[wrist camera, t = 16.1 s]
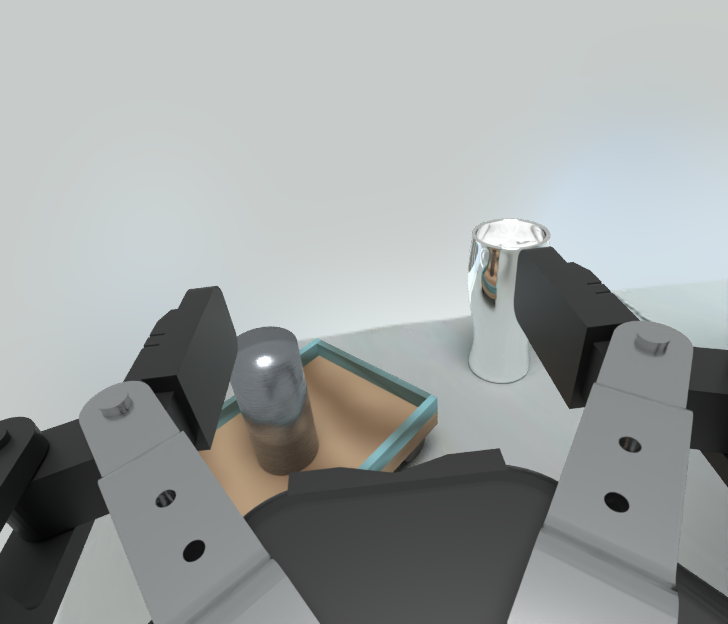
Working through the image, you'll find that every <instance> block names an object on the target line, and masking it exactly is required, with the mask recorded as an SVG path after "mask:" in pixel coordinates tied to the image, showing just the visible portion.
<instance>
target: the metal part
mask: <svg viewBox="0 0 728 624" xmlns="http://www.w3.org/2000/svg"><path fill="white" fill-rule="evenodd" d="M237 344H238V351H237V357H236V360H235V364H234V367H233V371H232V375H231V378H230V382H231V385H232V388H233V391H234V394H235V396H236V399H237V402H238V405H239V408H240V411H241V414H242V417H243V420H244V423H245V425H246V428H247V431H248V434H249V437H250V440H251V443H252V446H253V449H254V452H255V454H256V457H257V460H258V463H259V465H260V466H261V468H262V469H263V470H264V471H266V472H268V473H270V474H272V475H277V476H286V475H289V473H292V472H299V471H302V470H303V469H305V468H306V467H307V466H309V465H310V464H311V463H312V461H313V460H314V459H315V457H316V455H317V453H318V450H319V441H318V436H317V432H316V427H315V422H314V418H313V413H312V408H311V404H310V399H309V394H308V390H307V385H306V380H305V376H304V371H303V366H302V362H301V357H300V352H299V348H298V343H297V339H296V337H295V336H294V334H293V333H292V332H290V331H288V330H286V329H284V328H280V327H261V328H256V329H252V330H250V331H247V332H245V333H243V334H241V335H239V336H237Z"/></svg>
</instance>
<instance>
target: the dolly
mask: <svg viewBox="0 0 728 624" xmlns="http://www.w3.org/2000/svg"><path fill="white" fill-rule="evenodd" d="M299 352H300V357H301V362H302V366H303V371H304V376H305V380H306V385H307V390H308V394H309V399H310V404H311V408H312V413H313V418H314V422H315V427H316V432H317V436H318V441H319V450H318V453H317V455H316V457H315V459H314V460H313V461H312V463H311V464H310V465H309V466H307V467H306V468H305V469H303V470H302V471H310V470H318V469H327V468H335V467H346V468H355V469H364V470H373V471H382V472H394V471H395V469H396V468H397V467H398V466H399V465H400V464H401V463H402V462H403V461H404V460H405V461H406V462H410V461H412V460H413V459H414V458H415V457H416V456H417V455H418V453H419V452H420V450H421V448H422V446H423V444H424V440H425V437H426V436H427V434H428V433H429V432H430V431H431V430H432V429H433V428H434V427H435V426H436V425H437V397H435V396H433V395H431V394H429V393H427V392H425V391H423V390H421V389H419V388H417V387H415V386H413V385H411V384H409V383H407V382H405V381H403V380H401V379H399V378H397V377H395V376H393V375H391V374H389V373H387V372H385V371H383V370H381V369H379V368H377V367H375V366H372V365H370V364H368V363H366V362H364V361H362V360H360V359H358V358H356V357H354V356H352V355H350V354H348V353H346V352H344V351H342V350H340V349H338V348H336V347H334V346H332V345H330V344H328V343H326V342H324V341H322V340H320V339H318V338H317V339H315V340H314V341H312V342H311V343H309V344H308V345H307V346H305V347H304V348H302V349H301V350H299ZM198 453H199V454H200V455H201V457H202V458H203V460H204V461H205V463H206V464H207V466H208V467H209V469H210V470H211V471H212V473H213V474H214V476H215V477H216V479H217V480H218V482H219V483H220V485H221V486H222V487H223V489H224V490H225V492H226V493H227V495H228V496H229V498H230V499H231V501H232V502H233V503H234V505H235V506H236V508H237V509H238V511H239V512H240V514H241V515H242V516H244V515H245V514H247V513H248V512H249V511H250V510H252V509H253V508H254V507H256V506H257V505H259V504H260V503H262V502H264V501H265V500H267V499H269V498H271V497H273V496H275V495H277V494H279V493H281V492H284V491H286V490H288V480H289V475H286V476H277V475H272V474H270V473H268V472H266V471H264V470H263V469H262V468H261V466H260V465H259V463H258V460H257V457H256V454H255V452H254V449H253V446H252V443H251V440H250V437H249V434H248V431H247V428H246V425H245V423H244V420H243V417H242V414H241V411H240V408H239V405H238V402H237V399H236V396H235V395H234V396H233V397H231V398H230V399H228V400H227V401H226V402H224V403H223V407H222V411H221V414H220V418H219V421H218V425H217V429H216V432H215V436H214V439H213V443H212V447H211V450H203V451H198ZM299 472H301V471H299Z"/></svg>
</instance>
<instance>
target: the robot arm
mask: <svg viewBox="0 0 728 624" xmlns="http://www.w3.org/2000/svg"><path fill="white" fill-rule="evenodd" d="M514 312H515V316H516V319H517V322H518V324H519V325H520V327H521V329H522V330H523V332H524V334H525V335H526V337H527V339H528V340H529V342H530V344H531V345H532V347H533V349H534V350H535V352H536V354H537V356H538V357H539V359H540V361H541V362H542V364H543V366H544V367H545V369H546V371H547V372H548V374H549V376H550V377H551V379H552V381H553V382H554V384H555V386H556V387H557V389H558V391H559V392H560V394H561V396H562V398H563V399H564V401H565V403H566V404H567V406H568V408H569V409H573V408H582V407H585V409H584V412H583V414H582V417H581V420H580V423H579V426H578V429H577V432H576V434H575V437H574V440H573V443H572V446H571V449H570V451H569V454H568V457H567V460H566V463H565V466H564V468H563V471H562V474H561V477H560V480H559V482H558V481H556V480H554V479H552V478H550V477H548V476H545V475H543V474H541V473H538V472H535V471H532V470H529V469H525V468H521V467H516V466H511V465H506V464H505V462H504V459H503V456H502V454H501V451H500V448H499V449H490V450H481V451H473V452H464V453H456V454H447V455H445V456H442V457H439V458H436V459H434V460H431V461H428V462H425V463H422V464H420V465H417V466H414V467H411V468H408V469H406V470H403V471H400V472H394V473H393V472H382V471H373V470H364V469H355V468H346V467H335V468H327V469H318V470H310V471H301V472H292V473H289V480H288V490H286V491H284V492H281V493H279V494H277V495H275V496H273V497H271V498H269V499H267V500H265V501H264V502H262V503H260V504H259V505H257V506H256V507H254V508H253V509H252V510H250V511H249V512H248V513H247V514H245V515H244V516H242V515H241V514H240V512H239V511H238V509H237V508H236V506H235V505H234V503H233V502H232V501H231V499H230V498H229V496H228V495H227V493H226V492H225V490H224V489H223V487H222V486H221V485H220V483H219V482H218V480H217V479H216V477H215V476H214V474H213V473H212V471H211V470H210V469H209V467H208V466H207V464H206V463H205V461H204V460H203V458H202V457H201V455H200V454H199V453H198V451H203V450H211V447H212V443H213V439H214V436H215V432H216V429H217V425H218V421H219V418H220V414H221V411H222V407H223V403H224V400H225V396H226V393H227V389H228V385H229V382H230V378H231V375H232V371H233V367H234V364H235V360H236V357H237V351H238V344H237V336H236V332H235V329H234V326H233V323H232V321H231V317H230V314H229V311H228V308H227V305H226V302H225V300H224V296H223V293H222V291H221V289H220V288H219V287H218V286H212V287H204V288H196V289H189V290H188V291H187V292H186V294H185V296H184V298H183V300H182V302H181V304H180V306H179V308H178V309H174V310H170V311H169V312H168V313H167V314H166V315H165V316H163V317H162V318H161V319H160V320H159V321H158V322H157V323H156V325H155V327H154V328H153V330H152V332H151V334H150V338H148V339H147V341H146V343H145V344H144V348H143V349H142V350H141V351H140V353H139V355H138V357H137V358H136V360H135V362H134V364H133V366H132V368H131V369H130V371H129V373H128V374H127V376H126V378H125V380H124V381H123V382H122V383H118V384H116V385H113V386H110V387H108V388H106V389H104V390H102V391H101V392H99V393H98V394H97V395H95V396H94V397H92V398H91V399H90V400H89V401H88V402H87V403H86V404H85V406H84V407H83V409H82V410H81V412H80V415H79V419H77V420H74V421H71V422H68V423H65V424H62V425H59V426H56V427H53V428H50V429H47V430H44V431H40V430H39V429H38V427H37V426H36V425H35V423H34V422H33V421H32V420H31V419H29V418H26V417H13V418H8V419H5V420H2V421H0V532H1V530H2V529H3V527H4V525H5V523H6V522H7V523H8V524H9V525H10V526H11V527H12V528H13V531H12V533H11V535H10V537H9V538H8V540H7V542H6V544H5V545H4V547H3V549H2V551H1V553H0V624H53V622H54V619H55V617H56V614H57V612H58V609H59V607H60V604H61V602H62V599H63V597H64V594H65V592H66V590H67V587H68V585H69V582H70V580H71V577H72V575H73V572H74V570H75V567H76V565H77V563H78V560H79V558H80V555H81V553H82V550H83V548H84V545H85V543H86V540H87V538H88V535H89V533H90V531H91V528H92V526H93V523H94V521H95V519H97V518H99V517H102V516H104V515H107V514H109V513H110V515H111V518H112V520H113V523H114V525H115V528H116V530H117V533H118V535H119V538H120V540H121V543H122V545H123V548H124V550H125V553H126V555H127V558H128V560H129V563H130V565H131V568H132V570H133V573H134V575H135V578H136V580H137V583H138V585H139V588H140V590H141V593H142V596H143V598H144V601H145V603H146V606H147V608H148V611H149V613H150V616H151V618H152V620H151V621H150V622H149V623H148V624H728V597H727V596H725V595H724V594H722V593H721V592H719V591H718V590H716V589H715V588H714V587H712V586H711V585H709V584H708V583H706V582H705V581H703V580H702V579H701V578H699V577H698V576H696V575H695V574H693V573H692V572H690V571H689V570H688V569H686V568H685V567H683V566H682V565H680V564H679V563H677V559H678V550H679V541H680V532H681V523H682V514H683V505H684V495H685V486H686V477H687V468H688V459H689V450H690V449H697V450H700V451H701V452H702V454H703V455H704V456H705V458H706V459H707V460H708V462H709V463H710V464H711V466H712V467H713V468H714V469H715V471H716V472H717V473H718V475H719V476H720V477H721V479H722V480H723V481H724V483H725V484H726V485H727V487H728V350H722V349H710V348H699V347H693V346H692V343H691V342H690V340H689V339H688V338H687V337H686V336H685V335H683V334H682V333H681V332H679V331H677V330H675V329H673V328H671V327H669V326H666V325H663V324H659V323H655V322H649V321H640V320H639V319H638V318H637V317H636V316H635V315H634V314H633V313H632V312H631V311H630V310H629V309H628V308H627V307H626V306H625V305H624V304H623V303H622V302H621V301H620V300H619V299H618V298H617V297H616V296H615V295H614V294H613V293H611V292H610V290H609V289H608V288H607V287H606V286H605V285H604V284H602V283H601V281H600V280H599V279H598V278H597V277H596V276H595V275H594V274H593V273H592V272H591V271H590V270H588V269H586V268H584V267H582V266H580V265H578V264H576V263H574V262H570V263H567V262H566V261H565V260H564V259H563V258H562V257H561V256H560V255H559V254H558V253H557V251H556V250H555V249H554V248H553V247H551V246H548V247H540V248H532V249H524V250H521V251H520V253H519V255H518V261H517V271H516V281H515V291H514Z"/></svg>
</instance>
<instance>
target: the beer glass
mask: <svg viewBox="0 0 728 624" xmlns="http://www.w3.org/2000/svg"><path fill="white" fill-rule="evenodd" d="M549 240H550V232H549V230H548V229H547V228H546V227H544V226H542V225H540V224H538V223H535V222H532V221H527V220H522V219H497V220H491V221H487V222H484V223H481V224H479V225H478V226H476V227H475V228H474V229H473V231H472V241H471V248H470V255H469V265H468V293H469V301H470V308H471V314H472V320H473V327H474V339H473V345H472V348H471V352H470V355H469V366H470V368H471V370H472V371H473V372H474V373H475V374H476V375H477V376H479V377H480V378H482V379H484V380H487V381H490V382H495V383H510V382H514V381H517V380H519V379H521V378H522V377H524V376H525V374H526V373H527V371H528V368H529V360H528V349H527V345H528V339H527V337H526V335H525V334H524V332H523V330H522V329H521V327H520V325H519V324H518V322H517V319H516V316H515V312H514V291H515V281H516V271H517V261H518V255H519V253H520V251H521V250H524V249H532V248H540V247H548V246H549Z"/></svg>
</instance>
